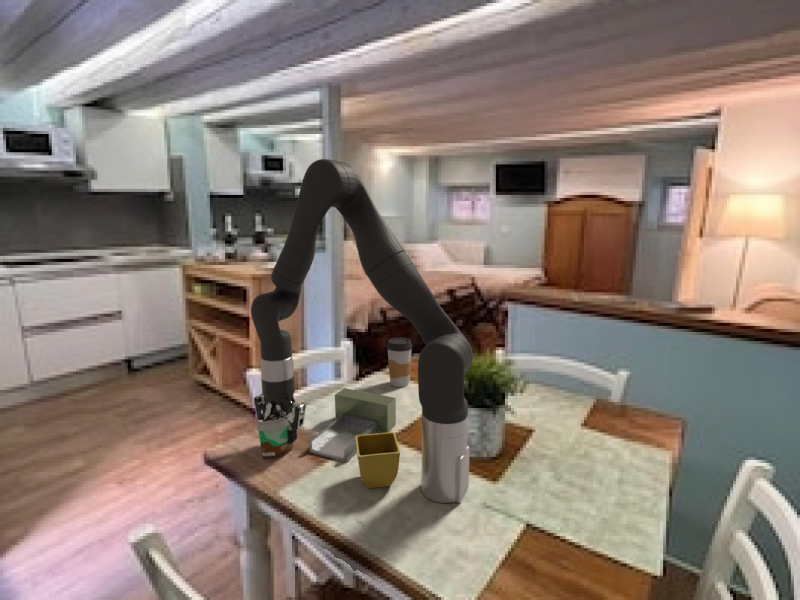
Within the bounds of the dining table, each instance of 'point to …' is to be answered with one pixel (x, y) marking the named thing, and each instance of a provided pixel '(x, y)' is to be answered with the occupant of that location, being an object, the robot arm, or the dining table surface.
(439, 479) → the robot arm
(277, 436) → the food container
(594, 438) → the dining table surface
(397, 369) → the coffee cup
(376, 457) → the flower pot
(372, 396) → the grey dustpan tray
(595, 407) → the dining table surface
